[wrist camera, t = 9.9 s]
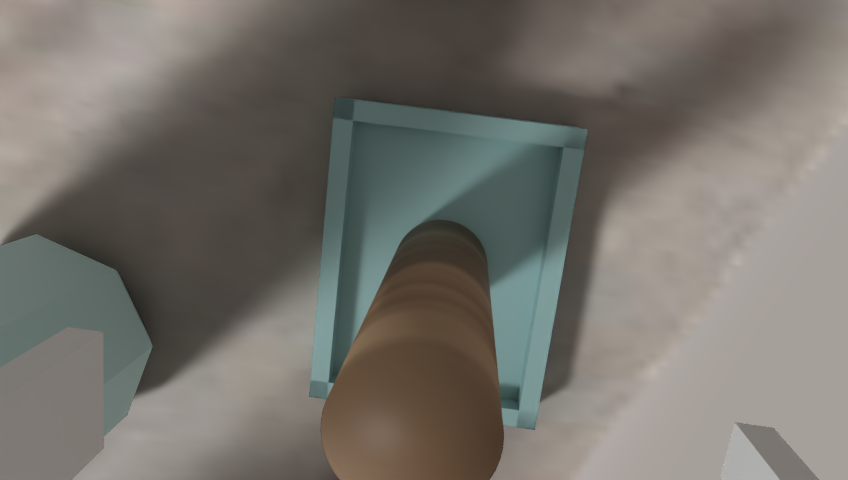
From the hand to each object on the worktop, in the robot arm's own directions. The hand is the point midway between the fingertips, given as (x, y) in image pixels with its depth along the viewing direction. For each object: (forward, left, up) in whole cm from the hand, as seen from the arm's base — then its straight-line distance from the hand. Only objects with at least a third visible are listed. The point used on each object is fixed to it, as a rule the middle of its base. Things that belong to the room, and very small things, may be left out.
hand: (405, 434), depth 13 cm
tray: (0, 0, -16) cm, 16 cm away
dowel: (0, 0, -15) cm, 15 cm away
